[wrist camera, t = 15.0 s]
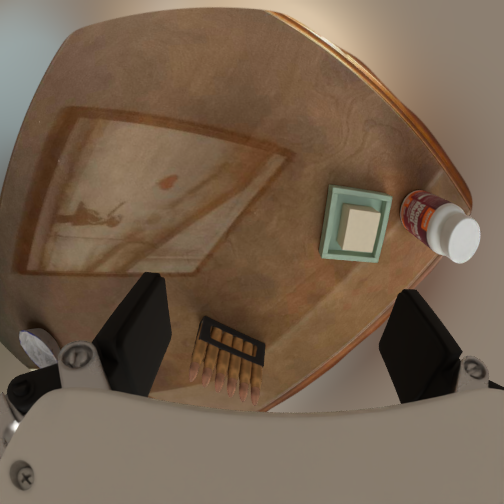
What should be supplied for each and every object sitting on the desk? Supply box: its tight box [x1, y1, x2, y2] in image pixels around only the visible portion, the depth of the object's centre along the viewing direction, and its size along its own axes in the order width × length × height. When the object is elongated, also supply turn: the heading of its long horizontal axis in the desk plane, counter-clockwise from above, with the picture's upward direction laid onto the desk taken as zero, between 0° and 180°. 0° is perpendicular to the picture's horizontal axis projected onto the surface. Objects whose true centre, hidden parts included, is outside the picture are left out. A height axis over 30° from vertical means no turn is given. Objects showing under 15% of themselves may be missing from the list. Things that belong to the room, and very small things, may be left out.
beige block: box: [336, 203, 381, 253], centre depth 31 cm, size 5×4×3 cm
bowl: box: [19, 328, 60, 368], centre depth 44 cm, size 13×13×5 cm
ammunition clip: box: [189, 316, 265, 406], centre depth 35 cm, size 11×2×12 cm, turn 60°
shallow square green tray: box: [319, 184, 392, 263], centre depth 32 cm, size 9×8×2 cm
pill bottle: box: [400, 190, 480, 263], centre depth 26 cm, size 6×6×11 cm
